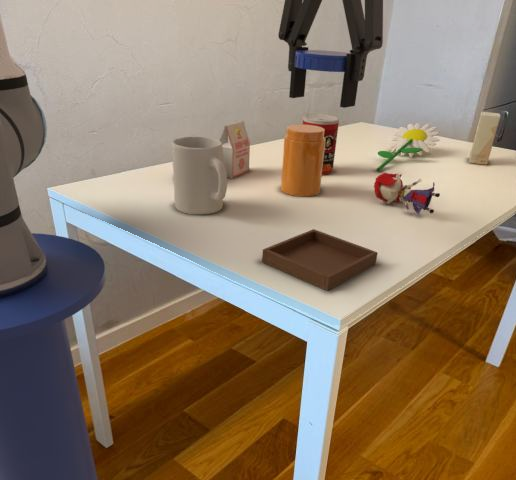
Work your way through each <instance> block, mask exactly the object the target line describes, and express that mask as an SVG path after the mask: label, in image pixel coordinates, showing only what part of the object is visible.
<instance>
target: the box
mask: <svg viewBox="0 0 516 480" xmlns="http://www.w3.org/2000/svg"><path fill="white" fill-rule="evenodd" d="M501 117H502V116H501V114H500V113H498V112H488V111H481V112H480V116H479V119H478V123H477V127H476V130H475V135H474V139H473V143H472V146H471V150H470V154H469V157H468V162H469V164H478V165H487V166H488V162H489V159H490V155H491V152H492V149H493V145H494V142H495V138H496V134H497V132H498V131H497V130H498V128H499V123H500V120H501Z"/></svg>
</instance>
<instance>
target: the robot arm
mask: <svg viewBox="0 0 516 480" xmlns="http://www.w3.org/2000/svg"><path fill="white" fill-rule="evenodd" d="M322 2H323V0H284V4H283V9H282V14H281V20H280V24H279V29H278V35H277V36H278V39H279V40H280V41H283V42H285V43H286V44H287V45H288V61H287V62H288V63H287V70H288V72H290V80H289V81H290V82H289V95H288V98H291V99H297V98H304V97H305V91H306V80H307V69H301V68H297V67H295V65H294V61H295V55H296V51H297V50H309V48H310V47H309V46H307V45H308V43H307V42H306V40H307V38H308V35H309V33H310V30H311V28H312V26H313V23H314V21H315V19H316V16H317V14H318V11H319V9H320V7H321V4H322ZM342 6H343V10H344V15H345V20H346V25H347V31H348V34H349V40H350V45H351V49H350V50H349V52H348V53H349V54H347V55H346V62H345V70H344V72H343V79H342V86H341V87H342V88H341V96H340V102H339V108H343V109H346V108H350V107H356V100H357V94H358V86H359V82H362V81H363V79H364V78H365V72H366V66H367V58H368V54H369V53H370V52H373V51H375V50H380V49H381V48H382V47H383V43H384V34H383V33H384V0H364V9H363V4H362V0H342ZM47 134H48V127H47V121H46V117H45V114H44V111H43V109H42V107H41V106H40V103H39V102H38V101H37V100H36V98H35V97H33V96H32V94H31V92H30V87H29V82H28V78H27V73H26V71H25V70H24V69H23V68H22V67H21V66H20V65H19V64H17V62H15V61H14V60H13V58H12V57H11V55H10V50H9V47H8V41H7V38H6V34H5V30H4V25H3V21H2V17H1V15H0V298H3V297H7V296H11V295H14V294H17V293H20V292H22V291H25V290H27V289H29V288H31V287H33V286H34V285H36V284H37V283H39V282H40V281H41V280H42V279H43V278H44V277H45V276H46V274H47V271H48V267H47V262H46V258H45V254H44V253H43V251H42V250H41V248H40V246H39V245H38V243H37V241H36V240H35V238H34V236H33V235H32V233H33V232H32V231H31V230H30V228H29V227H28V225H27V223H26V221H25V220H24V217H23V215H22V214H23V213H22V210H21V206H20V201H19V197H18V192H17V188H16V184H15V180H14V178H15V177H16V176H17V175H18V174H20V173H21V172H22V171H24V169H26V168H28V167H29V166H31V165H32V164H33V163H34V162H35V161H36V160H37V158H38V157H39V156H40V154H41V153H42V151H43V148H44V146H45V144H46V141H47V137H48V136H47Z"/></svg>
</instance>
